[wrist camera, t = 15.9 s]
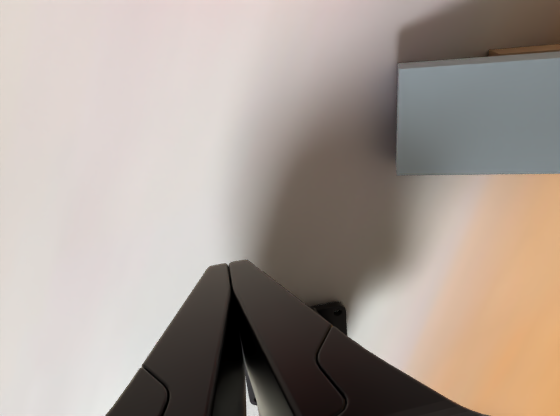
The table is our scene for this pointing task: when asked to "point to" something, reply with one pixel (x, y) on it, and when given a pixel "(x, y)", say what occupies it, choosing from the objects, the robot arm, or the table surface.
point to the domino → (479, 115)
